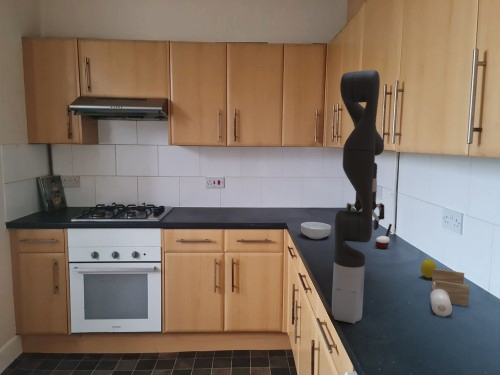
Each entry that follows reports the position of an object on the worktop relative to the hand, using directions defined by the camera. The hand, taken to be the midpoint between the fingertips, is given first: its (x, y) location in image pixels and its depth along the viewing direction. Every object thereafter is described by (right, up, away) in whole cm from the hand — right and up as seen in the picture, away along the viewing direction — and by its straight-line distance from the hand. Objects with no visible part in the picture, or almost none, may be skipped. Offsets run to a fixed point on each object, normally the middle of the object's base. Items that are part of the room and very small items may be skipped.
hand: (364, 229), depth 140 cm
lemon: (+26, -20, +3) cm, 33 cm away
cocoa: (+23, -15, +42) cm, 50 cm away
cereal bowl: (-8, -12, +61) cm, 62 cm away
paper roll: (+17, -21, -24) cm, 36 cm away
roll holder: (+26, -22, -13) cm, 36 cm away
